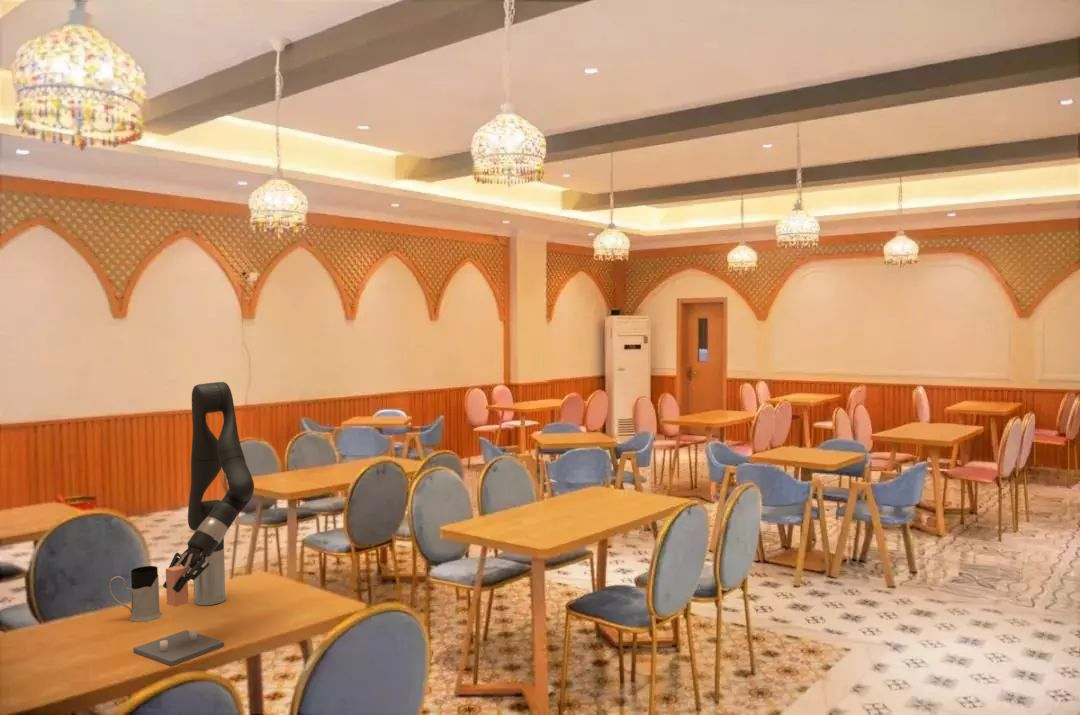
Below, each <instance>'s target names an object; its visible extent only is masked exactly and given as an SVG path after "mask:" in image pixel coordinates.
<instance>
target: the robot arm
mask: <svg viewBox="0 0 1080 715" xmlns="http://www.w3.org/2000/svg"><path fill="white" fill-rule="evenodd" d="M234 404H235V403H234V399H233V392H232V390H231V388H230V385H228V383H227V382H225V381H217V382H207V383H199V384H196V385H194V386H193V389H192V391H191V415H192V439H191V440H192V441H191V451H190V452H191V453H190V454H191V456H190V458H191V459H190V490H189V491H190V492H189V499H188V508H187V510H188V511H187V524H188V527H189V529H190V530H191V531H195V532H193V534H192V535H191V537H190V538H189V540H188V541H187V544H186V545H187V549H185V551H183V552H182V553H179V552H176V553H175V554H174V556H173V558H172V560H171V561H170V564H169V566H168V568H171V567H174V566H184V568H185V571H184V572H183V574H182V577H180V578H179V580H178V581H177V582H176V584H175V585H174V586H173V590H174V591H176V592H180V591H181V589H182V588H183V587H184V585H185V584H186V582H187V581H188V582H189V581H191V580H192V581H193V582H192V583H193V601H194V602H195V605H197V606H212V605H218V604H220V603H223V602H225V600H226V572H225V571H226V569H225V564H226V563H225V536H226V534H227V532H228V530H229V529H230V527H231V526H232V524H233V523H234V522H235V520H236V519H237V517H238V515H239V514H240V513H241V512H242V511H243V510H244V509H245V507H247V505H248V503H249V502H251V501H250V500H251V499H252V497H253V495H254V490H255V484H254V483H255V482H254V479H253V477H252V474H251V471H250V468H248V466H247V462H246V458H245V455H244V451H243V448H242V445H241V442H240V441H241V440H240V437H239V433H238V432H239V430H238V424H237V417H236V412H235V411H236V410H235V405H234ZM218 412H221V413H222V417H223V424H222V427H221V429H220V430H221V431H220V434H219V436H218V438H217V436H215V434H214V433H213V432H212V430H211V429H210V427H209V426H208V423H207V414H211V413H218ZM221 469H222V470H221ZM221 471H223V473H224V474H225V477H226V480H227V484H228V490H227V492H226V494H225V495H224V496H223V497H222V500H220V499H213V500H212V499H211V500H204V501H202V500H203V497H204V495H205V493H206V491H207V489H208V488H209V487H210V485H211V484H212V483H213V482H214V481H215V479H216V477H217V476H218V475H219V474H220V472H221ZM162 587H163V588H164V589H166V580H165V581H164V583H163V585H162Z"/></svg>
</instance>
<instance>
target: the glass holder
mask: <svg viewBox="0 0 1080 715" xmlns="http://www.w3.org/2000/svg"><path fill="white" fill-rule="evenodd" d="M158 572H159V570H158V566H156V565H155V566H154V565H144V566H140V567H136V568H132V569H131V570H130V575H131V576H130V577H131V580H130V581H131V587H127V584H126V580H125V578H124V577H122V576H120V575H118V576H117V575H116V576H114V577H112V578H111V579H110V581H109V592H110V594H111V596H112V598H113V599H114V601H115V602H117V603H118V604H120V605H121V606H122V607H124V608H126V609H128V610H129V611H130V614H131V616H130V619H129V620H130V621H131V622H135V623H142V622H150V621H154V620H156V619H159V618H160V617H162V613H161V611H160V584H159V583H160V582H159V573H158ZM116 578H117V579H118V578H119V579H121V580H122V581H123V583H124V585H123V586H124V588H125V590H130V594H131V595H130V600H131V603H130V604H131V608H130V607H129V606H127V605H126V604H124V603H122V602H121V601H119V600H118V599H117V598H116V597H115V595H114V593H113V591H112V581H113V580H114V579H116Z"/></svg>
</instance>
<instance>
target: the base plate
mask: <svg viewBox="0 0 1080 715" xmlns="http://www.w3.org/2000/svg"><path fill="white" fill-rule="evenodd" d="M223 647H225V642H224V641H221V640H219V639H215V638H212V637H209V636H205V635H203V634H199V633H198V630H197V629H192V630H186V629H185V630H183V631H182V630H181V631H178V632H176V633H173V634H170V635H168V636H164V637H162V638H159V639H156V640H153V641H150V642H146V643H144V644H141V645H138V646H135V647H133V650H132V651H133V653H134V654H138V655H139V656H143V657H146V658H149V659H152V660H154V661H157V662H159V663H163V664H165V665H168V666H170V667H173V666H176V665H178V664H181V663H183V662H186V661H188V660H189V661H190V660H191V659H194V658H196V657H199V656H201V655H205V654H207V653H210V652H212V651H216V650H218V649H221V648H223Z"/></svg>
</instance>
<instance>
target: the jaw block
mask: <svg viewBox="0 0 1080 715" xmlns="http://www.w3.org/2000/svg"><path fill="white" fill-rule="evenodd" d="M184 571H185V568H184V566H182V565H180V566H174V567H171V568H169V567H167V568H165V581H166V588H165V590H166V605H168V606H171V607H175V608H176V607H179V606H183V605H185V604H188V603H189V581H187V582H186V584H185V585H184V587H183V588H182V589H181V591H180V592H176V591H174V590H173V586H174V585H175V584H176V582H177V581H178V580H179V578H180V577H182V574H183V572H184Z"/></svg>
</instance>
